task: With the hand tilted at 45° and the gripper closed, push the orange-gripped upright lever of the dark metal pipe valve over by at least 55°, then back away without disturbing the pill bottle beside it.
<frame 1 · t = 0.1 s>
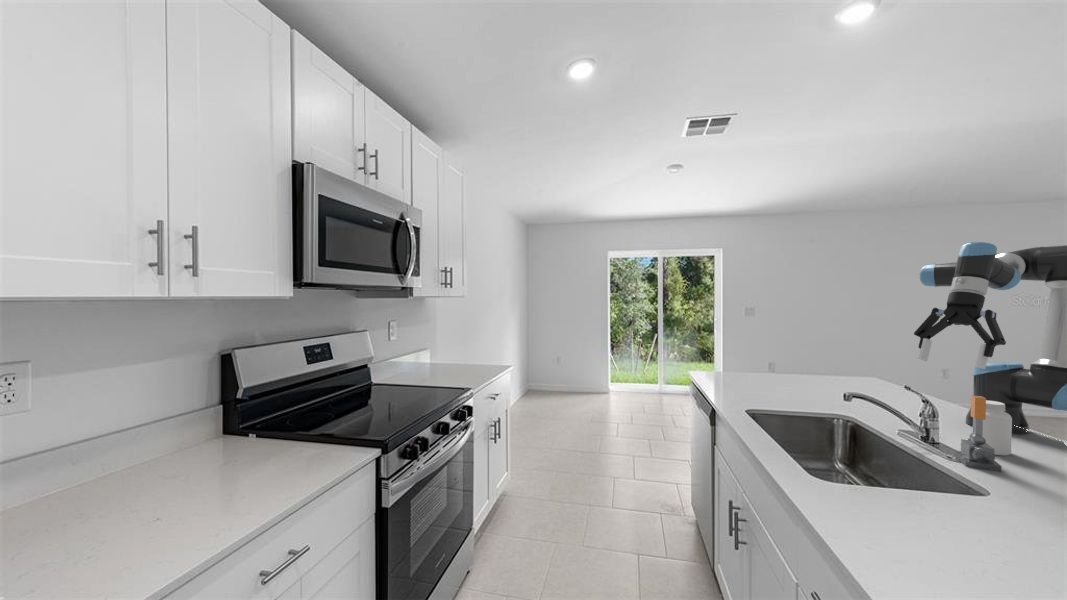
hand: (950, 363, 122), 28 cm above the worktop, tool tilted 20°, fingers open, 13 cm apart
valve lever: (977, 420, 119), point 12 cm above the worktop, hinge at 0.0°
valve body: (976, 463, 120), on the worktop
pill bottle: (991, 451, 128), on the worktop
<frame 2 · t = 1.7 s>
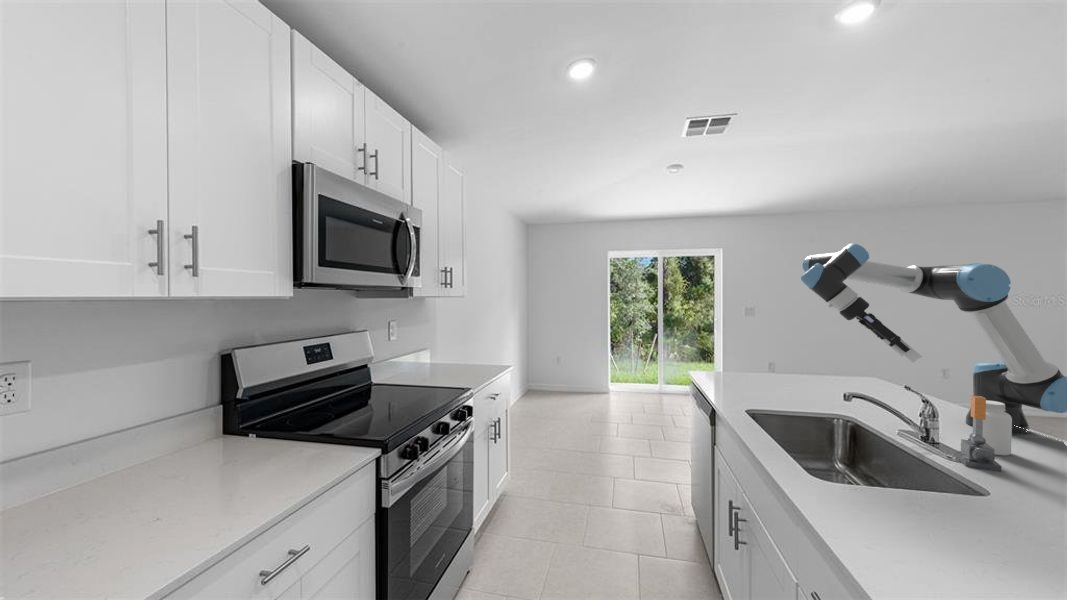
hand: (911, 356, 126), 29 cm above the worktop, tool tilted 45°, fingers open, 11 cm apart
nothing on the worktop moved.
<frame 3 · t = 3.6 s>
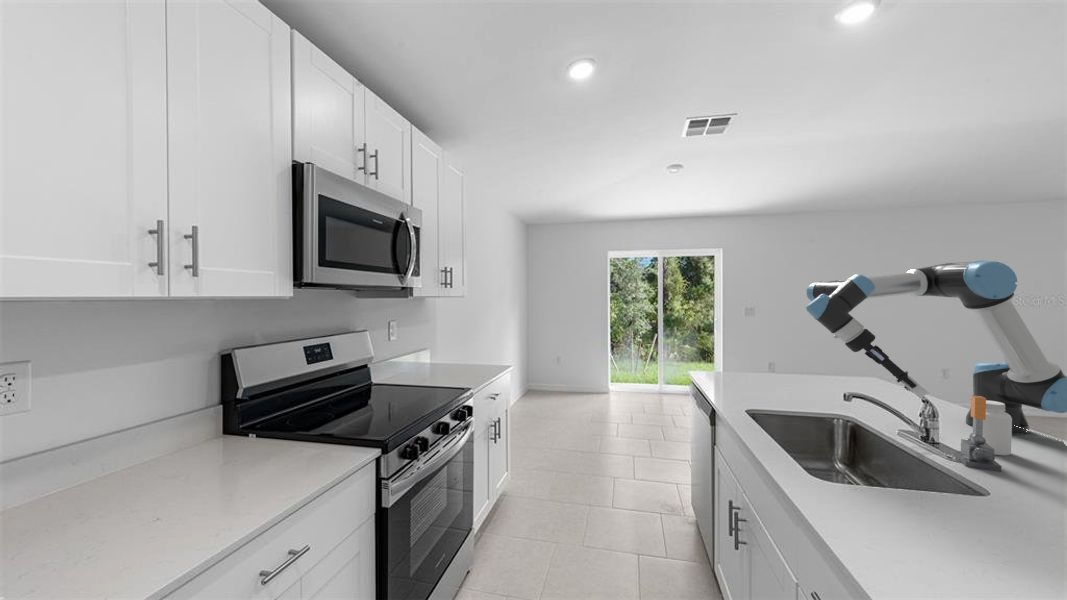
hand: (923, 394, 124), 18 cm above the worktop, tool tilted 45°, fingers closed
nothing on the worktop moved.
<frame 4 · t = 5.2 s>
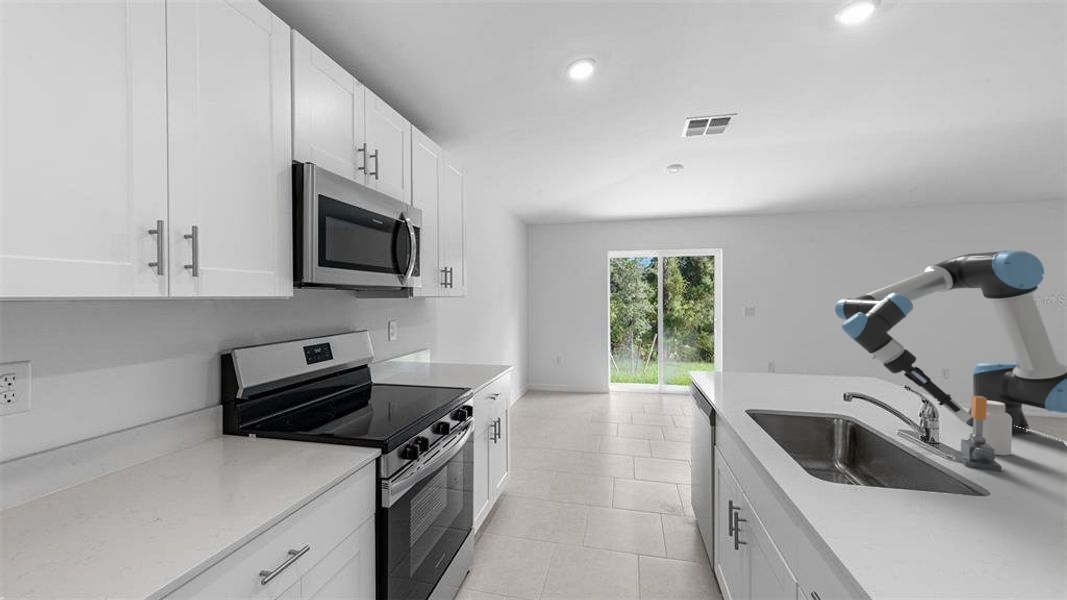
hand: (967, 419, 120), 12 cm above the worktop, tool tilted 45°, fingers closed
valve lever: (978, 420, 119), point 12 cm above the worktop, hinge at 0.8°, touching gripper
everything else where it was.
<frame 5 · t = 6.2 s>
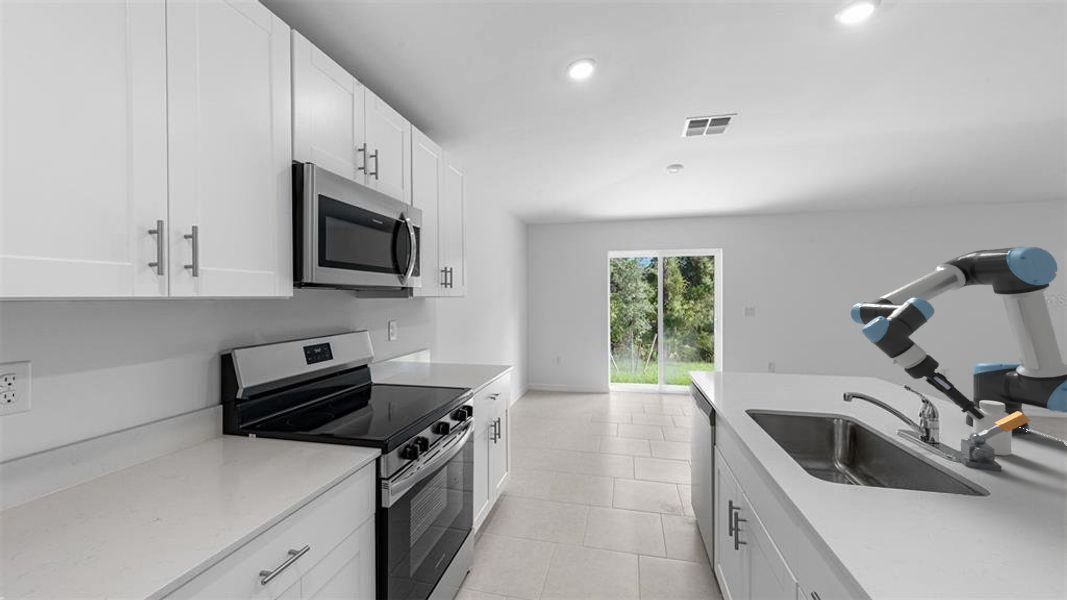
hand: (991, 426, 118), 11 cm above the worktop, tool tilted 45°, fingers closed
valve lever: (997, 428, 117), point 11 cm above the worktop, hinge at 48.7°, touching gripper
everything else where it was.
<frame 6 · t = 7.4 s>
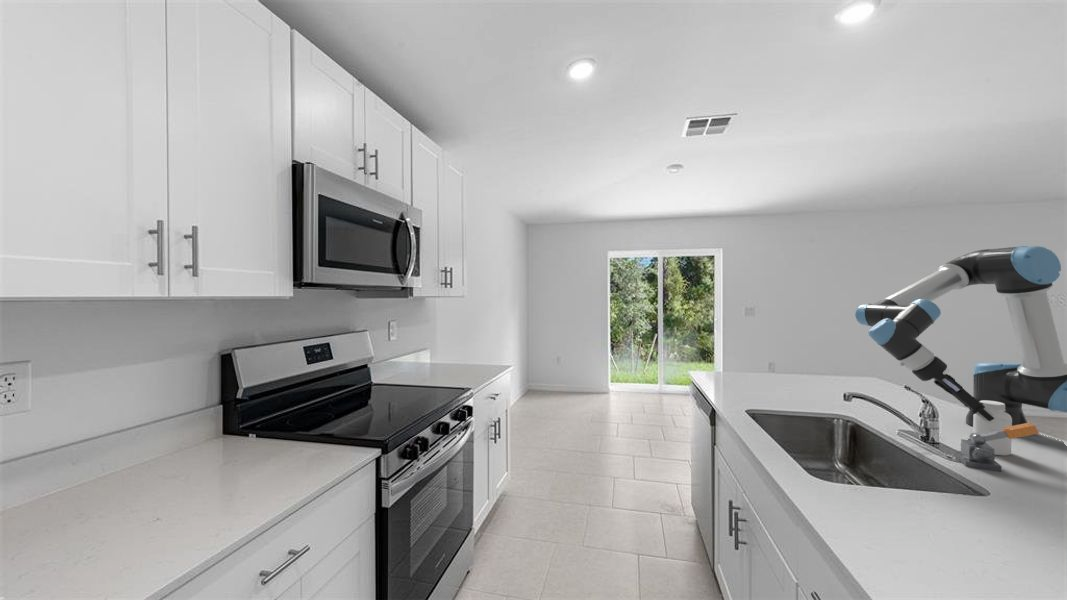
hand: (1001, 428, 117), 11 cm above the worktop, tool tilted 45°, fingers closed
valve lever: (1002, 434, 117), point 9 cm above the worktop, hinge at 65.8°
everything else where it was.
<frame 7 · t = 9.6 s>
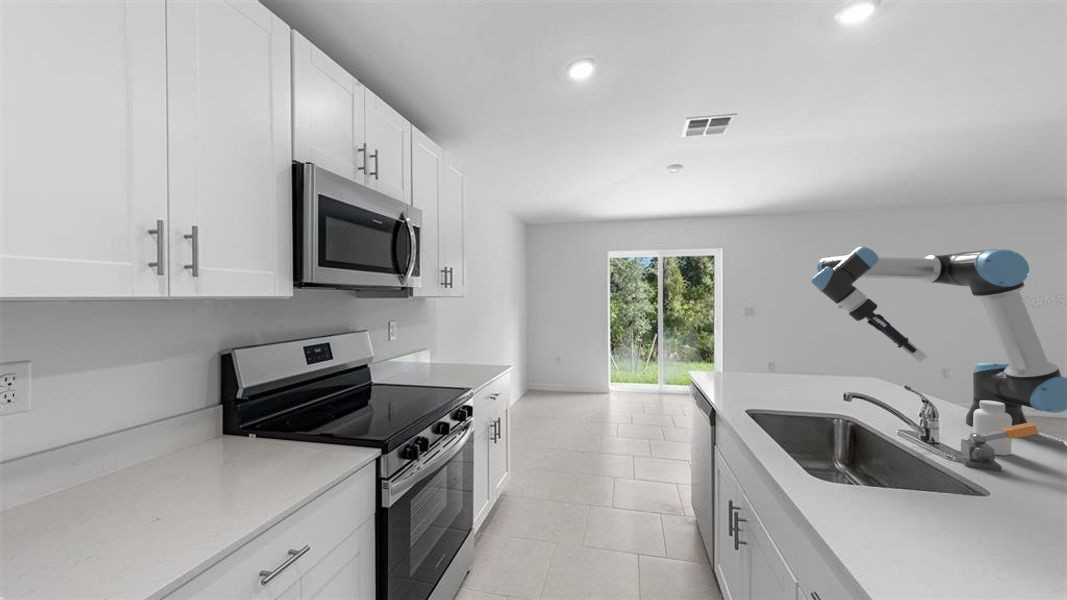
hand: (923, 359, 132), 28 cm above the worktop, tool tilted 45°, fingers closed
nothing on the worktop moved.
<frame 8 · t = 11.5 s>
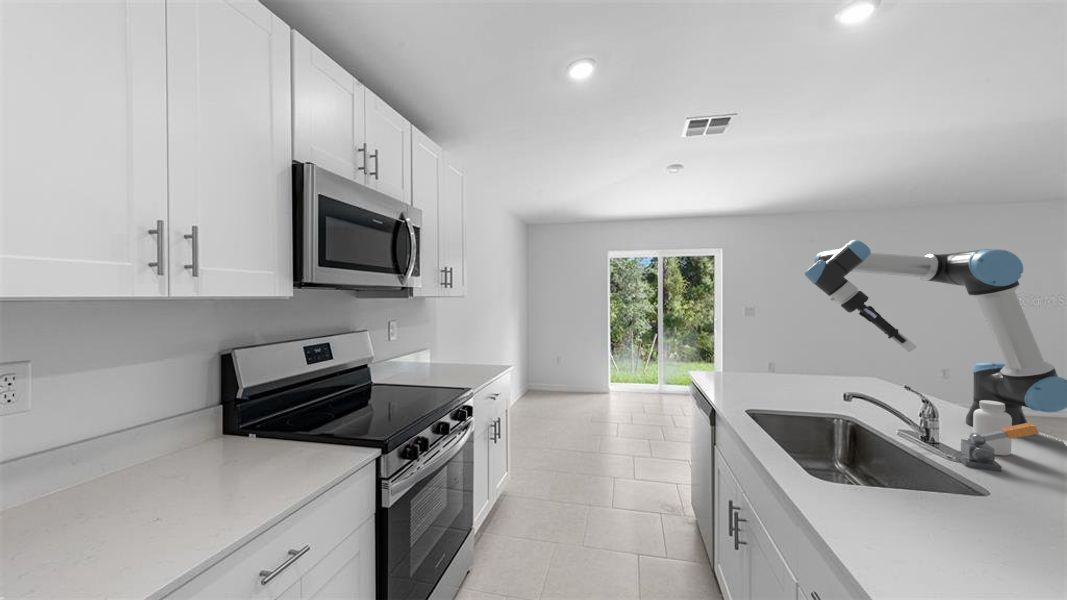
hand: (912, 349, 136), 30 cm above the worktop, tool tilted 45°, fingers closed
nothing on the worktop moved.
at the end: valve lever at +66° (first picture: +0°); pill bottle moved 0.2 cm from its start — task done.
